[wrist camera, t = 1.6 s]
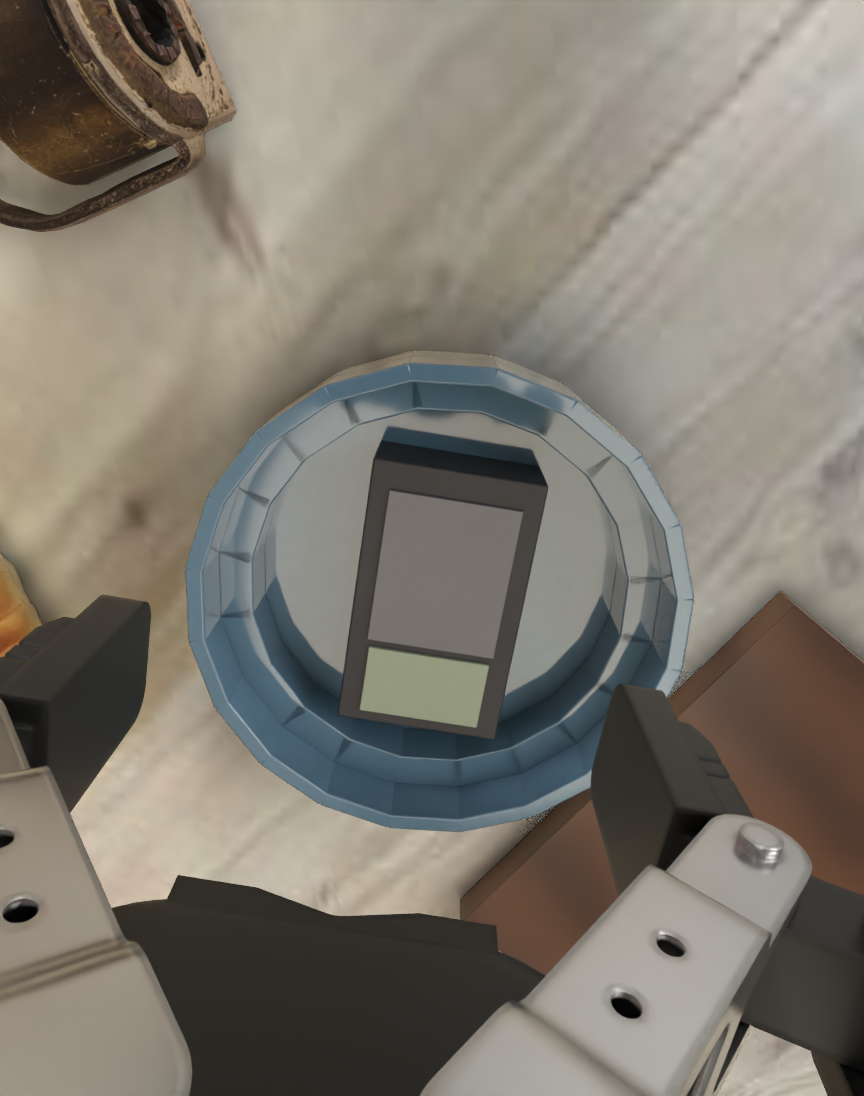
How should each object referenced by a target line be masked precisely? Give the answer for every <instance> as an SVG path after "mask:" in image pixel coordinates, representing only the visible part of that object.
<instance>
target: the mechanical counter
mask: <svg viewBox="0 0 864 1096" xmlns="http://www.w3.org/2000/svg"><path fill="white" fill-rule="evenodd" d="M235 113H236V108H235V106H234V103H233V101H232V98H231V96H230V94H229V91H228V89H227V87H226V85H225V83H224V80H223V78H222V76H221V74H220V72H219V69H218V67H217V65H216V63H215V60H214V58H213V56H212V53H211V51H210V48H209V46H208V44H207V41H206V39H205V37H204V34H203V32H202V30H201V28H200V25H199V23H198V21H197V19H196V16H195V14H194V12H193V10H192V7H191V5H190V3H189V1H188V0H0V139H1V140H2V141H3V142H4V143H5V144H6V145H7V146H8V147H9V148H10V149H11V150H12V151H13V152H14V153H15V154H16V155H17V156H18V157H19V158H20V159H22V160H23V161H25V162H26V163H27V164H29V165H30V166H31V167H33V168H34V169H36V170H38V171H40V172H41V173H43V174H45V175H47V176H49V177H51V178H53V179H56V180H59V181H61V182H64V183H67V184H71V185H88V184H90V183H93V182H95V181H97V180H100V179H102V178H104V177H106V176H108V175H110V174H113V173H115V172H117V171H119V170H121V169H123V168H125V167H127V166H129V165H131V164H134V163H136V162H138V161H140V160H142V159H144V158H146V157H149V156H151V155H153V154H155V153H157V152H159V151H161V150H163V149H165V148H167V147H169V146H173V147H174V148H175V149H176V150H177V152H178V154H179V156H177V157H175V158H173V159H171V160H169V161H166V162H164V163H162V164H160V165H158V166H155V167H153V168H151V169H149V170H147V171H144V172H142V173H140V174H138V175H136V176H133V177H132V178H130V179H128V180H126V181H124V182H122V183H120V184H118V185H116V186H114V187H113V188H111V189H109V190H108V191H106V192H104V193H103V194H101V195H98V196H96V197H93V198H91V199H88V200H86V201H84V202H82V203H80V204H78V205H76V206H74V207H72V208H70V209H68V210H66V211H64V212H62V213H59V214H53V215H45V214H42V213H38V212H35V211H32V210H29V209H25V208H22V207H19V206H15V205H12V204H9V203H6V202H4V201H3V200H1V199H0V223H1V224H4V225H7V226H11V227H17V228H22V229H27V230H32V231H38V232H46V231H55V230H61V229H64V228H67V227H70V226H73V225H77V224H80V223H83V222H86V221H88V220H90V219H92V218H94V217H96V216H99V215H101V214H103V213H105V212H107V211H109V210H112V209H114V208H116V207H118V206H120V205H122V204H125V203H127V202H129V201H131V200H133V199H135V198H137V197H140V196H142V195H144V194H146V193H148V192H150V191H152V190H155V189H157V188H159V187H161V186H163V185H165V184H167V183H169V182H171V181H174V180H176V179H178V178H180V177H182V176H184V175H186V174H188V173H189V172H190V171H191V170H193V169H194V168H195V167H196V166H198V165H199V164H200V163H201V162H202V160H203V158H204V156H205V140H204V134H205V132H207V131H209V130H211V129H213V128H215V127H217V126H219V125H221V124H224V123H226V122H229V121H231V120H232V118H233V116H234V115H235Z"/></svg>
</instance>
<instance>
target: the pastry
mask: <svg viewBox="0 0 864 1096" xmlns="http://www.w3.org/2000/svg"><path fill="white" fill-rule="evenodd" d="M41 625H44V624H43V623H42V622H41V621H40V619H39V617H38V611H37V609H36V607H35V606H34V605H32V604H31V603H30V600H29V598H28V597H27V595H26V593H25V591H24V589H23V587H22V580H21V577H20V576H19V574H18V572H17V570H16V568H15V567H14V565H13V564H12V563H11V562H10V561H7V560H5V558H4V556H3V555H2V554H1V552H0V658H1V657H4V656H5V653H6V652H8V651H9V650H10V649H11V648H12V647H14V646H15V645H19V642H20V641H21V640H22V639H23V638H24V637H25V636H27V635H28V634H29V633H30V632H31V631H33V630H34V629H35V628H36V627H39V626H41Z"/></svg>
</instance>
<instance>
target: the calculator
mask: <svg viewBox="0 0 864 1096" xmlns="http://www.w3.org/2000/svg"><path fill="white" fill-rule="evenodd" d="M548 488H549V487H548V484H547V482H546V480H545V477H544V475H543V473H542V471H541V468H540V467H539V466H536V465H530V464H524V463H517V462H511V461H505V460H499V459H493V458H487V457H481V456H475V455H468V454H462V453H456V452H450V451H444V450H438V449H432V448H426V447H419V446H413V445H407V444H401V443H395V442H389V441H381V442H380V444H379V447H378V449H377V451H376V454H375V456H374V458H373V464H372V471H371V478H370V485H369V492H368V500H367V507H366V514H365V521H364V528H363V535H362V543H361V550H360V557H359V564H358V571H357V578H356V585H355V593H354V600H353V607H352V614H351V621H350V628H349V636H348V643H347V650H346V657H345V664H344V671H343V678H342V686H341V693H340V700H339V707H338V715H339V716H344V717H350V718H357V719H363V720H370V721H376V722H383V723H389V724H396V725H402V726H409V727H415V728H422V729H428V730H435V731H441V732H448V733H454V734H461V735H467V736H474V737H480V738H487V739H495V737H496V732H497V727H498V723H499V718H500V713H501V709H502V704H503V699H504V695H505V690H506V685H507V681H508V676H509V671H510V666H511V662H512V657H513V652H514V648H515V643H516V638H517V634H518V629H519V624H520V620H521V615H522V610H523V605H524V601H525V596H526V591H527V587H528V582H529V577H530V573H531V568H532V563H533V559H534V554H535V549H536V544H537V540H538V535H539V530H540V526H541V521H542V516H543V512H544V507H545V502H546V497H547V493H548Z"/></svg>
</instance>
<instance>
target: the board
mask: <svg viewBox="0 0 864 1096" xmlns="http://www.w3.org/2000/svg"><path fill="white" fill-rule="evenodd" d="M668 701H669V703H670V705H671V707H672V709H673V711H674V713H675V714H676V716H677V718H678V720H679V722H684V723H690V724H691V725H692V726H693V727H694V728H696V729H697V730H698V731H699V732H700V733H701V734H702V735H704V736H705V737H706V738H707V739H708V740H709V741H711V743H712V745H713V746H714V748H715V750H716V752H717V753H718V755H719V757H720V759H721V760H722V761H721V764H724V766H725V767H726V769H727V771H728V773H729V774H730V780H733V782H734V783H735V785H736V787H737V789H738V790H739V792H740V794H741V796H742V797H743V799H744V801H745V803H746V804H747V806H748V808H749V810H750V811H751V813H752V815H753V817H754V818H755V819H758V820H760V821H763V822H766V823H768V824H770V825H772V826H774V827H776V828H778V829H779V830H781V831H783V832H784V833H786V834H787V835H789V836H790V837H791V838H793V839H794V840H795V841H796V842H797V843H798V844H799V845H800V846H801V847H802V848H803V849H804V850H805V851H806V853H807V854H808V856H809V858H810V860H811V863H812V872H811V875H812V876H814V877H816V878H818V879H821V880H823V881H826V882H828V883H831V884H833V885H836V886H839V887H842V888H844V889H847V890H850V891H853V892H855V893H858V894H861V895H864V661H863V660H862V659H860V658H859V657H858V656H857V655H856V654H855V653H853V652H852V651H851V650H850V649H849V648H848V647H846V646H845V645H844V644H843V643H842V642H840V641H839V640H838V639H837V638H836V637H835V636H833V635H832V634H831V633H830V632H829V631H828V630H826V629H825V628H824V627H823V626H822V625H821V624H819V623H818V622H817V621H816V620H815V619H813V618H812V617H811V616H810V615H809V614H808V613H806V612H805V611H804V610H803V609H802V608H801V607H799V606H798V605H797V604H796V603H795V602H794V601H792V600H791V599H790V598H789V597H788V596H786V595H785V594H784V593H783V592H781V591H780V592H779V593H778V594H777V595H776V596H775V597H774V598H773V599H772V600H771V601H770V602H769V603H768V604H767V605H766V606H765V607H764V608H763V609H761V610H760V611H759V612H758V613H757V614H756V615H755V616H754V617H753V618H752V619H751V620H750V621H749V622H748V623H747V624H746V625H745V626H744V627H743V628H742V629H741V630H740V631H739V632H738V633H737V634H736V635H734V636H733V637H732V638H731V639H730V640H729V641H728V642H727V643H726V644H725V645H724V646H723V647H722V648H721V649H720V650H719V651H718V652H717V653H716V654H715V655H714V656H713V657H712V658H711V659H710V660H709V661H708V662H706V663H705V664H704V665H703V666H702V667H701V668H700V669H699V670H698V671H697V672H696V673H695V674H694V675H693V676H692V677H691V678H690V679H689V680H688V681H687V682H686V683H685V684H684V685H683V686H682V687H681V688H679V689H678V690H677V691H676V692H675V693H674V694H673V695H672V696H671V697H670V698H669V699H668ZM617 898H618V893H617V890H616V886H615V883H614V879H613V875H612V872H611V868H610V864H609V861H608V857H607V853H606V850H605V846H604V843H603V839H602V835H601V832H600V828H599V824H598V821H597V817H596V814H595V810H594V806H593V803H592V798H591V787H590V788H588V789H586V790H584V791H582V792H581V793H579V794H577V795H575V796H573V797H571V798H569V799H567V800H565V801H563V802H561V803H560V804H559V805H558V806H557V807H556V808H555V809H554V810H553V811H552V812H551V813H550V814H549V815H548V816H547V817H546V818H545V819H544V820H542V821H541V822H540V823H539V824H538V825H537V826H536V827H535V828H534V829H533V830H532V831H531V832H530V833H529V834H528V835H527V836H526V837H525V838H524V839H523V840H522V841H521V842H520V843H519V844H518V845H517V846H516V847H514V848H513V849H512V850H511V851H510V852H509V853H508V854H507V855H506V856H505V857H504V858H503V859H502V860H501V861H500V862H499V863H498V864H497V865H496V866H495V867H494V868H493V869H492V870H491V871H490V872H489V873H487V874H486V875H485V876H484V877H483V878H482V879H481V880H480V881H479V882H478V883H477V884H476V885H475V886H474V887H473V888H472V889H471V890H470V891H469V892H468V893H467V894H466V895H465V896H464V897H463V898H462V899H461V900H460V920H464V921H470V922H477V923H483V924H489V925H496V927H497V941H498V950H499V951H501V952H502V953H504V954H506V955H509V956H511V957H513V958H515V959H517V960H519V961H521V962H523V963H525V964H527V965H529V966H530V967H532V968H534V969H535V970H537V971H539V972H540V973H542V974H543V975H545V976H546V975H547V974H548V973H549V972H550V971H551V970H552V969H553V967H554V966H555V965H556V964H557V963H558V962H559V961H560V960H561V959H562V958H563V957H564V956H565V954H566V953H567V952H568V951H569V950H570V949H571V948H572V947H573V946H574V945H575V944H576V943H577V941H578V940H579V939H580V938H581V937H582V936H583V935H584V934H585V933H586V932H587V931H588V929H589V928H590V927H591V926H592V925H593V924H594V923H595V922H596V921H597V920H598V919H599V918H600V916H601V915H602V914H603V913H604V912H605V911H606V910H607V909H608V908H609V907H610V906H611V905H612V903H613V902H614V901H615V900H616V899H617Z"/></svg>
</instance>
